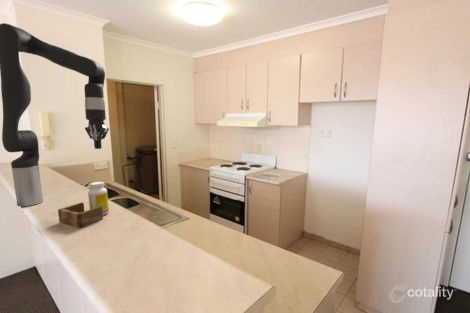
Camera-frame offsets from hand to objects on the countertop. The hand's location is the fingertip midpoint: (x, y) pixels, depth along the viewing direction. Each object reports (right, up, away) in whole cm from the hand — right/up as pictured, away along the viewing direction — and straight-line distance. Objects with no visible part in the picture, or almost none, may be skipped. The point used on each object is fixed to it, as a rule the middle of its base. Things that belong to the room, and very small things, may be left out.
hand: (98, 148), depth 107 cm
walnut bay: (+3, -28, -16) cm, 32 cm away
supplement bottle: (+6, -27, -9) cm, 29 cm away
